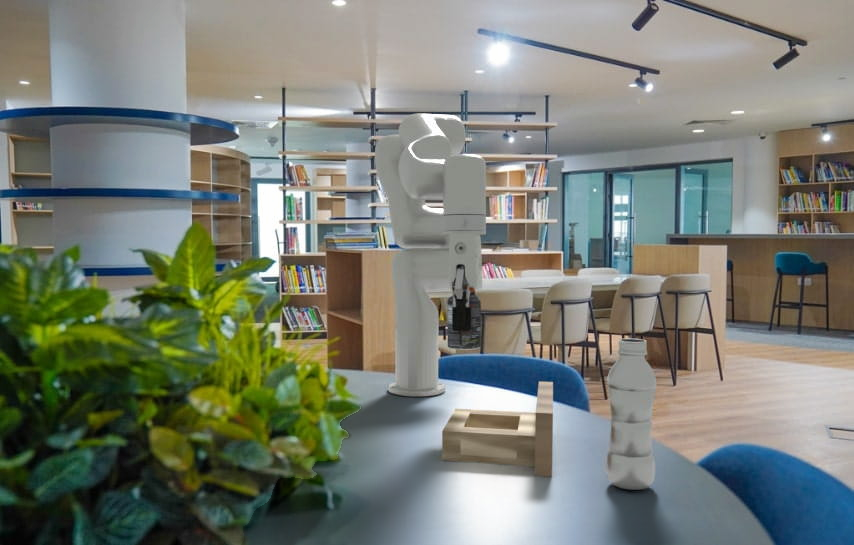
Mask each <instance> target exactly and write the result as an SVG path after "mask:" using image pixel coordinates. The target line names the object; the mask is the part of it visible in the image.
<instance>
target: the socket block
mask: <svg viewBox="0 0 854 545" xmlns="http://www.w3.org/2000/svg"><path fill="white" fill-rule="evenodd" d="M535 425H536V412H530V411H529V412H528V411H526V412H525V411H508V410H490V409H489V410H488V409H471V408H470V409H469V408H455V409H454V410H453V412H452V413H451V415H450V417H449V419H448V420H447V422H446V424H445V425H444V427H443V429H442V431H441V432H442V433H441V434H442V435H441V445H442V446H441V460H442V461H449V462H464V463H479V464H480V463H481V464H494V465H495V464H496V465H510V466H525V467H526V466H527V467H535Z"/></svg>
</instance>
